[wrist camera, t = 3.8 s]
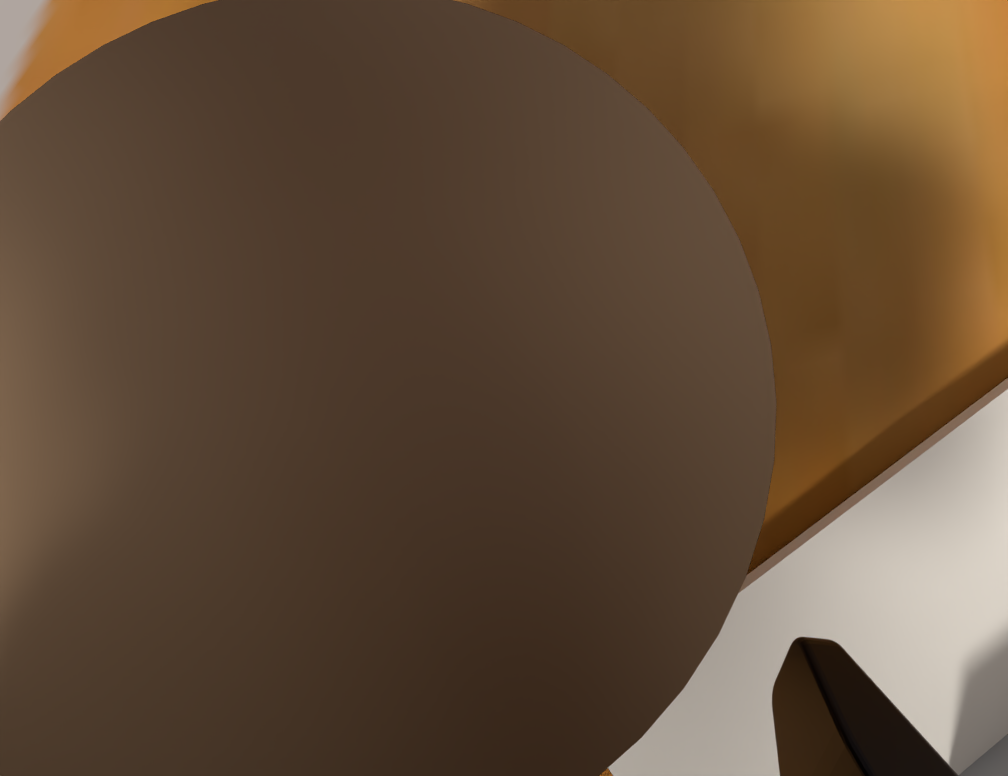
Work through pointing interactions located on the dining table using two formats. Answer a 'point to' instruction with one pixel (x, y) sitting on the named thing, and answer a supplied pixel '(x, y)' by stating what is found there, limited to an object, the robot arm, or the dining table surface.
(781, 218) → the dining table surface
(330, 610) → the brown cylinder
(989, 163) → the dining table surface
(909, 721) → the robot arm
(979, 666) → the square socket base
